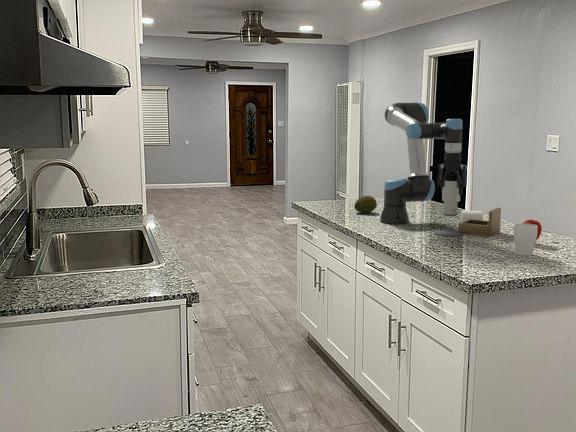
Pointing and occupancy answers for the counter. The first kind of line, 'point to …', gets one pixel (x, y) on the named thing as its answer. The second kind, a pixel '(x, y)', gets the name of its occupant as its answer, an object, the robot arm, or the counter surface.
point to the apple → (539, 228)
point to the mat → (449, 233)
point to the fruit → (365, 204)
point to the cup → (525, 239)
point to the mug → (471, 215)
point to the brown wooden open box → (482, 225)
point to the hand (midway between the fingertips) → (450, 200)
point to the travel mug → (450, 195)
